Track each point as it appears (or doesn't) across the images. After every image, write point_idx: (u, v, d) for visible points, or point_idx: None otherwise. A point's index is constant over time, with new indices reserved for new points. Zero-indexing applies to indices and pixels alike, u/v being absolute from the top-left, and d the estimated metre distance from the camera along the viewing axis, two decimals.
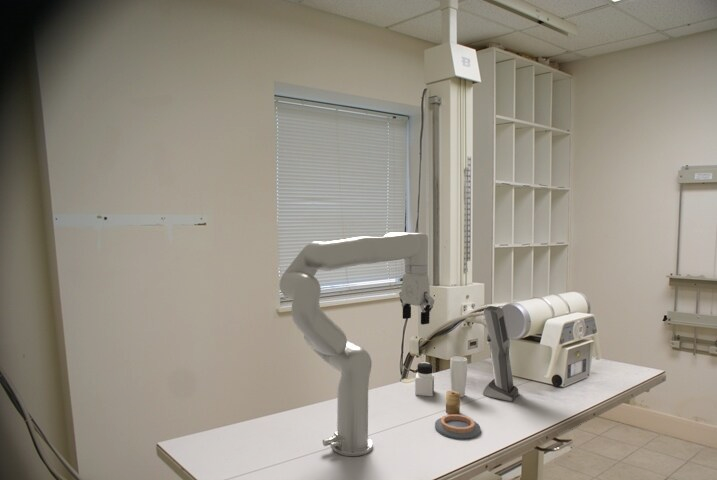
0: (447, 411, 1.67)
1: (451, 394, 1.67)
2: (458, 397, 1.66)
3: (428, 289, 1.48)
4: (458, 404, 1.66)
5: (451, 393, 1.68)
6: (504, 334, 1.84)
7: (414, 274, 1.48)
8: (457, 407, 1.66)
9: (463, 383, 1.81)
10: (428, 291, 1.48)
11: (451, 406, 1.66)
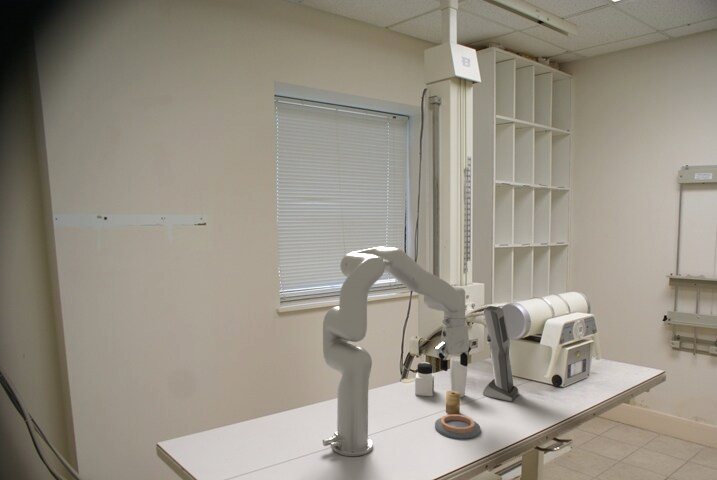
0: (447, 411, 1.67)
1: (451, 394, 1.67)
2: (458, 397, 1.66)
3: None
4: (458, 404, 1.66)
5: (451, 393, 1.68)
6: (504, 334, 1.84)
7: (465, 325, 1.66)
8: (457, 407, 1.66)
9: (463, 383, 1.81)
10: None
11: (451, 406, 1.66)
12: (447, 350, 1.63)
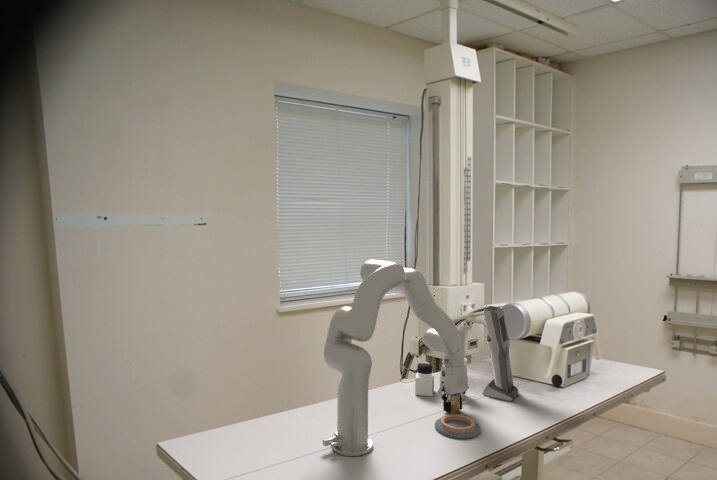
0: None
1: None
2: (458, 397, 1.66)
3: None
4: (458, 404, 1.66)
5: None
6: (504, 334, 1.84)
7: (464, 364, 1.66)
8: (457, 407, 1.66)
9: None
10: None
11: (451, 406, 1.66)
12: (446, 390, 1.63)
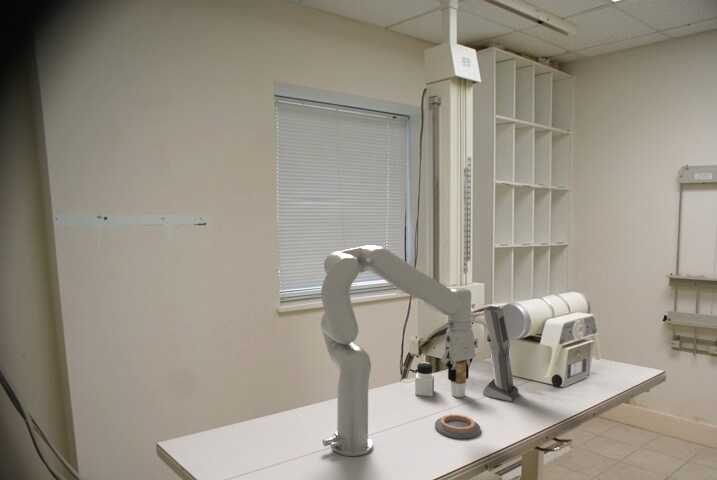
0: None
1: None
2: (464, 364, 1.52)
3: None
4: (464, 372, 1.52)
5: None
6: (504, 334, 1.84)
7: (470, 329, 1.52)
8: (463, 375, 1.52)
9: None
10: None
11: (457, 374, 1.51)
12: (451, 357, 1.49)
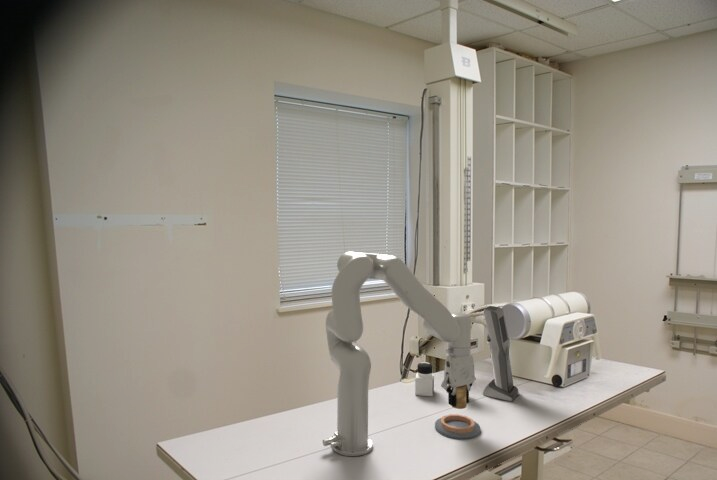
0: None
1: None
2: (464, 389, 1.52)
3: None
4: (464, 397, 1.52)
5: None
6: (504, 334, 1.84)
7: (470, 354, 1.52)
8: (463, 400, 1.52)
9: None
10: None
11: (457, 399, 1.52)
12: (451, 382, 1.50)
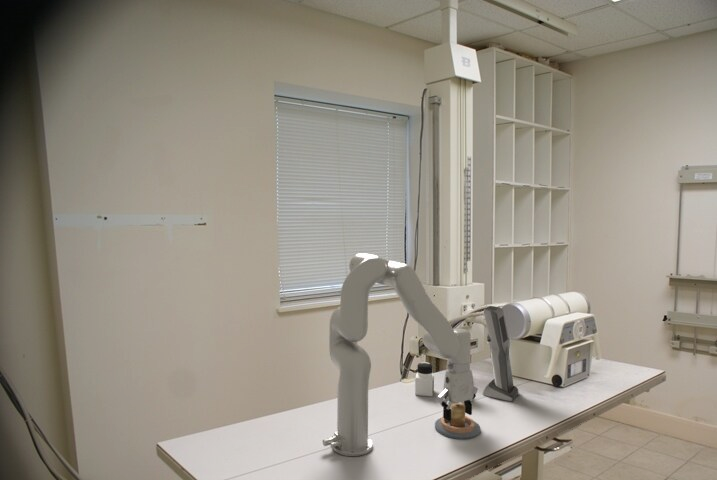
0: (451, 425, 1.53)
1: (456, 406, 1.53)
2: (463, 409, 1.52)
3: None
4: (463, 417, 1.53)
5: (455, 405, 1.54)
6: (504, 334, 1.84)
7: (469, 370, 1.53)
8: (462, 421, 1.52)
9: None
10: None
11: (456, 419, 1.52)
12: (450, 398, 1.50)
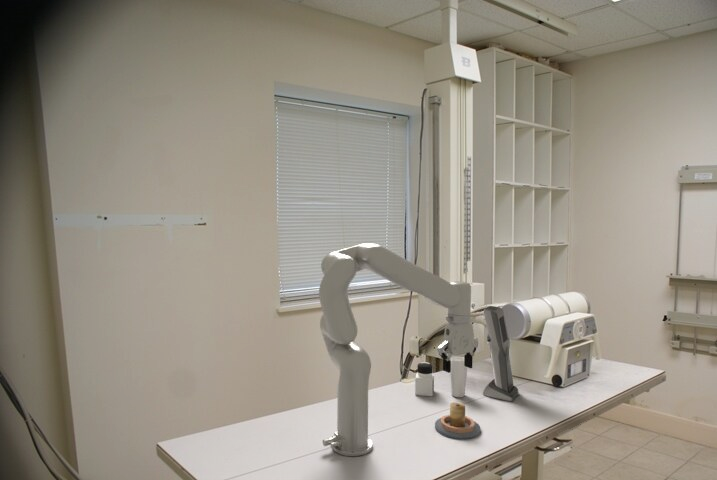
0: (451, 425, 1.53)
1: (456, 406, 1.53)
2: (463, 409, 1.52)
3: None
4: (463, 417, 1.53)
5: (455, 405, 1.54)
6: (504, 334, 1.84)
7: (470, 322, 1.52)
8: (462, 421, 1.52)
9: (463, 383, 1.81)
10: None
11: (456, 419, 1.52)
12: (450, 350, 1.49)
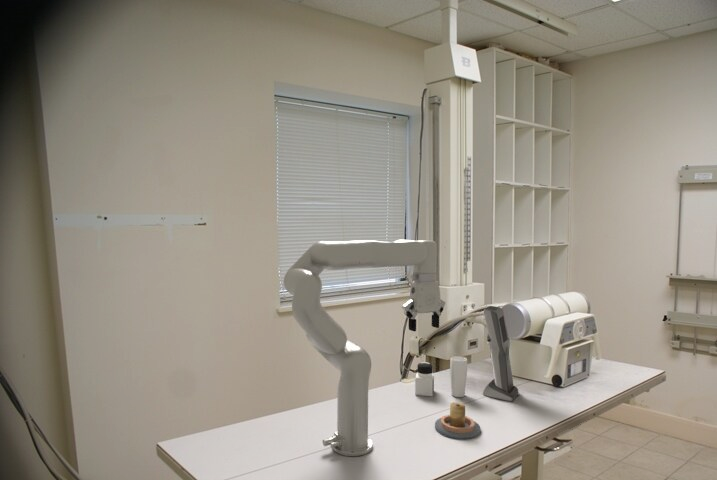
0: (451, 425, 1.53)
1: (456, 406, 1.53)
2: (463, 409, 1.52)
3: None
4: (463, 417, 1.53)
5: (455, 405, 1.54)
6: (504, 334, 1.84)
7: (436, 281, 1.50)
8: (462, 421, 1.52)
9: (463, 383, 1.81)
10: None
11: (456, 419, 1.52)
12: (416, 308, 1.47)
